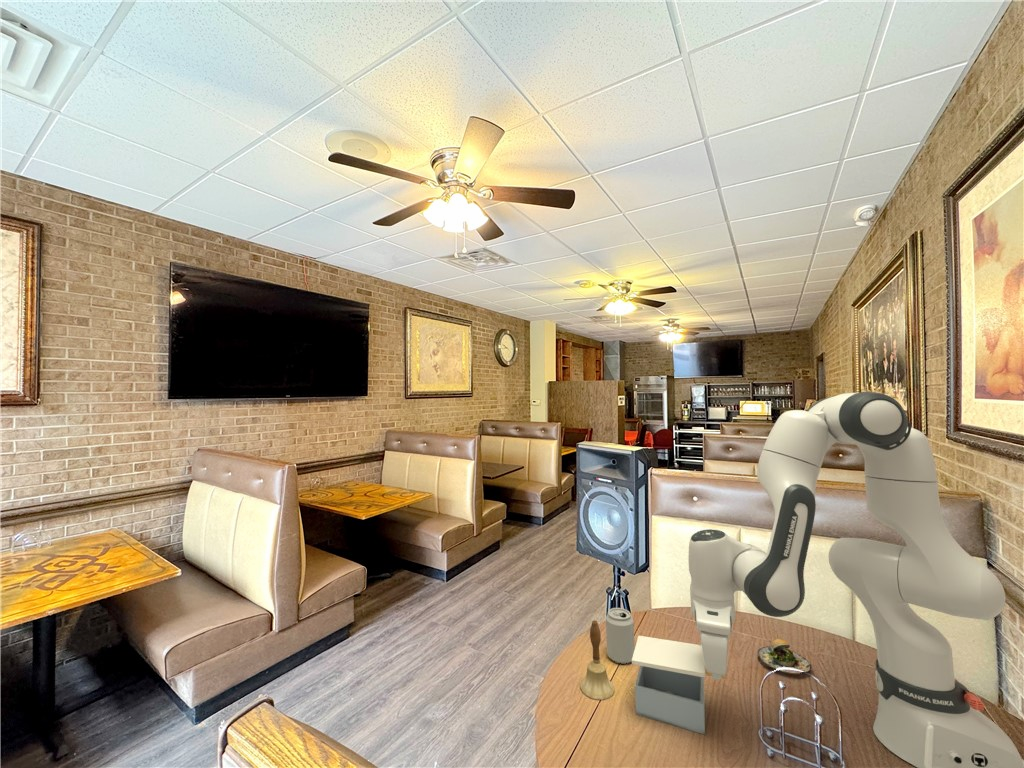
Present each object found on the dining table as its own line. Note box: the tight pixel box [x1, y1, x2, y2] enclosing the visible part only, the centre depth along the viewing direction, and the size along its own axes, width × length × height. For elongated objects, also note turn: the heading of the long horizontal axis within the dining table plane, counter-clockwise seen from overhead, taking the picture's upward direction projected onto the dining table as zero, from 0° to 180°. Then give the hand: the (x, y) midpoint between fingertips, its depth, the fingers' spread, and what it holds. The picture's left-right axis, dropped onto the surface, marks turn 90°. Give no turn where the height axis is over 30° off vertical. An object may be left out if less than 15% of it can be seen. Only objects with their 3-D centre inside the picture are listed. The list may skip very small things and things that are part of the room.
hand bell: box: [579, 620, 615, 701], centre depth 100 cm, size 8×8×16 cm
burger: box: [757, 630, 813, 675], centre depth 107 cm, size 12×12×8 cm
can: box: [605, 607, 636, 665], centre depth 112 cm, size 8×8×12 cm
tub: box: [634, 665, 706, 735], centre depth 92 cm, size 14×10×6 cm
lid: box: [631, 635, 728, 680], centre depth 92 cm, size 19×11×2 cm, turn 65°
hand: (716, 671), depth 88 cm, fingers closed on lid, 3 cm apart
